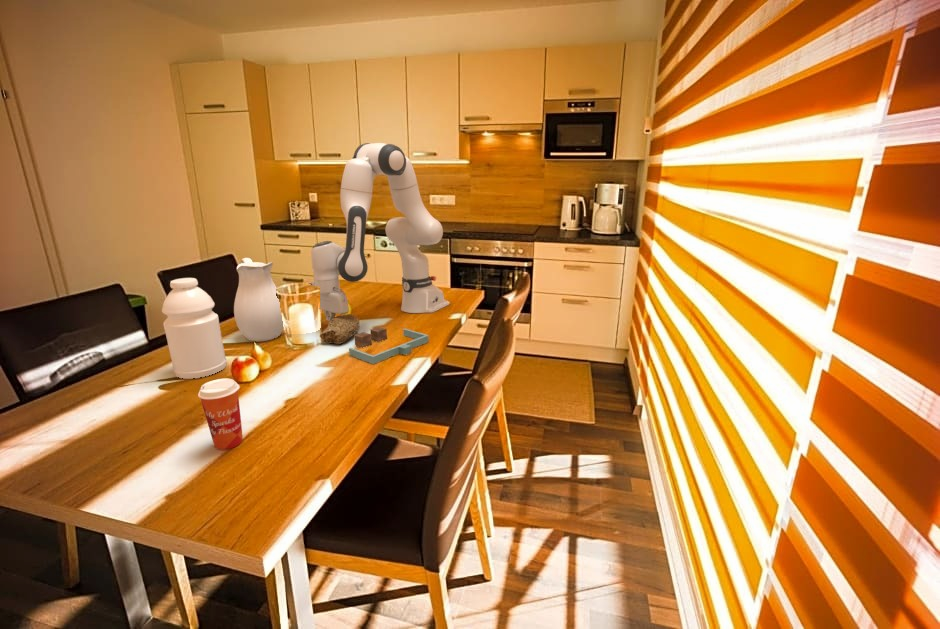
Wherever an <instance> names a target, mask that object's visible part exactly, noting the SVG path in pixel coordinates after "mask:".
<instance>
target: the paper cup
mask: <svg viewBox="0 0 940 629" xmlns="http://www.w3.org/2000/svg"><path fill="white" fill-rule="evenodd" d="M240 388H241V387H240V384H238V382H236V381H235V380H234V379H232V378H217V379H214V380H210V381H207V382H205V383H204V384H202V385H201V387H200V389H199V392H198V398H200V401H201V405H202V409H203V412H204V415H205V419H206V422H207V425H208V429H209V433H210V436H211V439H212V443H213V446H214V448H215V449H216V450H219V451H226V450H231V449H234V448H236V447H238V446H239V445H241V444H242V442H243V441H244V440H243V428H242V427H243V426H242V425H243V424H242V418H241V417H242V416H241V410H240V400H239V399H240V398H239V389H240Z"/></svg>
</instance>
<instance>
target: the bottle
mask: <svg viewBox="0 0 940 629" xmlns="http://www.w3.org/2000/svg"><path fill="white" fill-rule="evenodd" d="M169 286H170V288H171V290H170V291H169V293H168V294H167V296H166V297H165V299H164V301H163V304H162V308H161V312H162V314H164V315H166V317H167V318H166V319H164V321H163V325H162V326H163V328H164V333H165V336H166V341H167V346H168V351H169V355H170V359H171V363H172V368H173V369H172V371H173V373H174V375H175V376H176V377H177V378H178V377H179V379H182V378H183V379H182V380H185V379H186V380H193V378H195V379H201V378H200V377H202V378H206V377H209V375H210V376H213V375H215V373H216V374H218V373H219V371H220V372H222V371H223V370H224V369H226V367H227V357H226V354H225V348H224V343H223V337H222V332H221V326H220V319H219V315H218V314H217V313H215V312H214V311H213V308H214V307H215V305H216V304H215V302H214V300H213V298H212V297H211V295H209V294H208V293H207V291H205V290H203V289H202V288H201V287H199V281H198V279H197V278H195V277H182V278H175V279H173V280H170V283H169ZM221 370H222V371H221ZM217 372H218V373H217ZM212 374H213V375H212ZM205 376H206V377H205Z"/></svg>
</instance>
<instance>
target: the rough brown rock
mask: <svg viewBox="0 0 940 629" xmlns="http://www.w3.org/2000/svg"><path fill="white" fill-rule="evenodd" d="M359 329H360V320H359V318H358V317H357V316H356V315H353V314H348V313H346V314H342V315H340V314H339V315H337V316H335V317H334V318H333V319H332V320H331V321H330V322H328V324H327V327H326V328H325V329H324V330H323V331H322V332H320V334H319V337H320V338H321V339H322V340H323V342H325V343H326V342H327V343H328V344H329V343H330V344H335V345H340V344H342V343H344V342H346V341H347V340H349V339H350V338H351V337H352V336H354V335H355V334H357V332H358V331H359Z"/></svg>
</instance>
